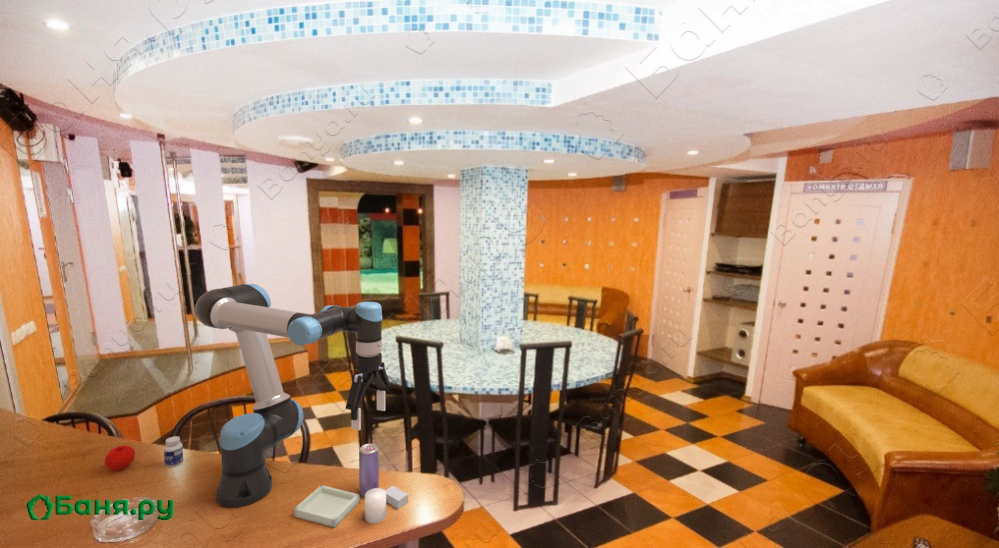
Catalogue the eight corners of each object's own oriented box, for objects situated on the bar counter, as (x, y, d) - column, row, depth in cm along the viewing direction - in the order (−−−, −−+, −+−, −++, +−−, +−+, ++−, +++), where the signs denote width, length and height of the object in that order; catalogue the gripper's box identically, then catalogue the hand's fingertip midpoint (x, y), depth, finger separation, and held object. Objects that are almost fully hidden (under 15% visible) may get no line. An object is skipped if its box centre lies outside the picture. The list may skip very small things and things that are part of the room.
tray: (293, 516, 127) (293, 508, 127) (321, 491, 139) (321, 484, 138) (334, 527, 123) (334, 520, 123) (359, 501, 135) (359, 494, 134)
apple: (140, 466, 148) (139, 446, 147) (110, 478, 141) (108, 456, 140) (131, 459, 152) (129, 439, 151) (101, 469, 146) (99, 448, 145)
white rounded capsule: (360, 520, 127) (360, 498, 126) (372, 507, 132) (372, 486, 131) (378, 525, 125) (378, 502, 124) (389, 512, 131) (390, 490, 130)
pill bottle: (160, 466, 149) (158, 441, 148) (175, 458, 154) (173, 434, 153) (173, 468, 148) (171, 444, 146) (187, 460, 153) (186, 436, 152)
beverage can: (373, 499, 136) (373, 454, 134) (355, 496, 137) (355, 451, 135) (382, 488, 142) (382, 444, 140) (365, 485, 143) (365, 442, 141)
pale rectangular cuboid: (382, 500, 136) (382, 491, 136) (392, 494, 139) (392, 485, 139) (398, 509, 132) (398, 500, 132) (408, 503, 135) (408, 494, 135)
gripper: (355, 367, 120) (355, 440, 123) (400, 343, 144) (400, 404, 147) (332, 364, 122) (332, 435, 125) (380, 340, 146) (380, 401, 149)
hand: (369, 419), depth 136 cm, fingers open, 13 cm apart
